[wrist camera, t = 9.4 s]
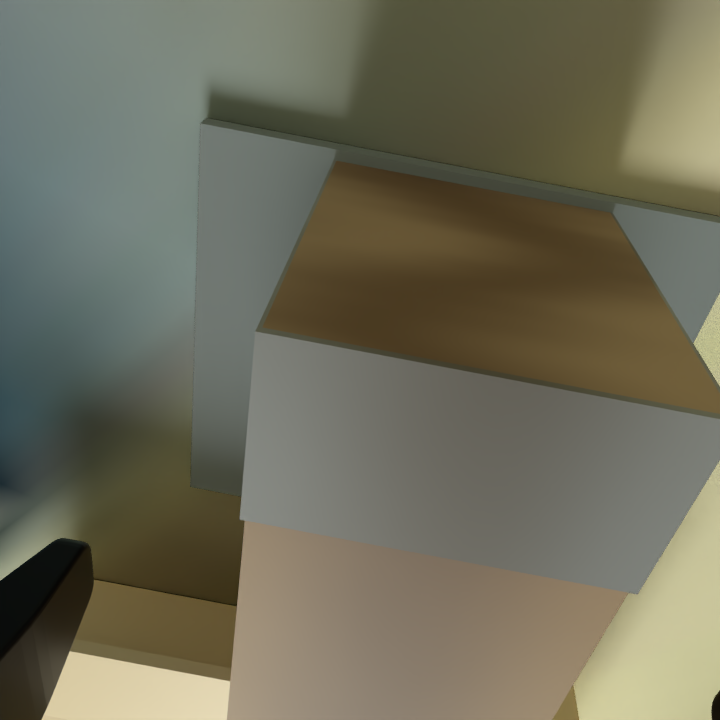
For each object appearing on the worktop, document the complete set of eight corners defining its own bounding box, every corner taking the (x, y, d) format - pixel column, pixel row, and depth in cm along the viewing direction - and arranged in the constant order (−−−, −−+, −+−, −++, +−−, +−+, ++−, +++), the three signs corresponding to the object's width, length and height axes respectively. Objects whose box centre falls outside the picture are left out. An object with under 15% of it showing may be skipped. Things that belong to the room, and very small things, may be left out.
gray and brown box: (613, 212, 12) (741, 423, 7) (483, 547, 17) (502, 815, 12) (333, 160, 12) (255, 331, 7) (285, 510, 17) (219, 761, 12)
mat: (743, 221, 12) (752, 229, 12) (577, 548, 17) (580, 560, 17) (207, 117, 12) (200, 123, 12) (195, 475, 17) (190, 486, 17)
